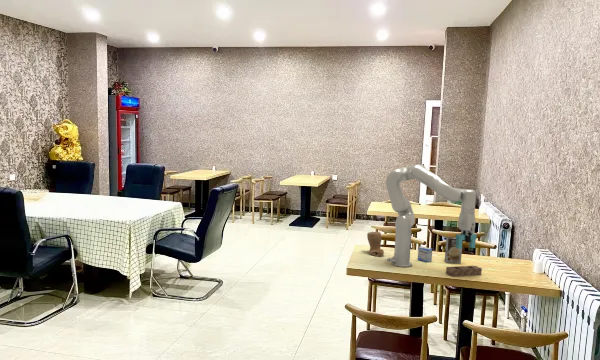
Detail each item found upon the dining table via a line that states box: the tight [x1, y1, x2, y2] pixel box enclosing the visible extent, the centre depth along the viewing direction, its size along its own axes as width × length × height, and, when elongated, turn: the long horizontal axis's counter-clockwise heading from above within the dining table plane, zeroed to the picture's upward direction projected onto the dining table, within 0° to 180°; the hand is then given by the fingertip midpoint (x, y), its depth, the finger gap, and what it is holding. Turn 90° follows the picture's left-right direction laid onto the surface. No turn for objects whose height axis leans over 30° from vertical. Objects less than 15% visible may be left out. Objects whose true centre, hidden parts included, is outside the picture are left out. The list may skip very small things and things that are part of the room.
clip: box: [455, 233, 478, 250], centre depth 271 cm, size 12×3×8 cm, turn 107°
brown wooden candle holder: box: [445, 265, 483, 277], centre depth 273 cm, size 20×6×4 cm, turn 107°
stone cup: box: [366, 231, 385, 257], centre depth 312 cm, size 15×12×15 cm
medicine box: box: [417, 245, 433, 263], centre depth 300 cm, size 8×4×9 cm, turn 47°
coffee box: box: [444, 236, 464, 265], centre depth 299 cm, size 9×6×16 cm
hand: (465, 241), depth 271 cm, fingers closed on clip, 3 cm apart
